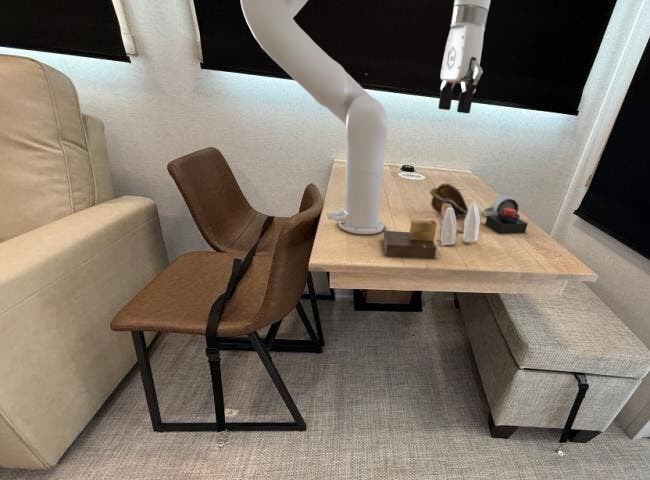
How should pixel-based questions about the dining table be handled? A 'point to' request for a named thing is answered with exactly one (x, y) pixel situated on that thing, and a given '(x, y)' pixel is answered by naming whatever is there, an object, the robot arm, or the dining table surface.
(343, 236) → the dining table surface
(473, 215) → the shaker set
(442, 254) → the dining table surface
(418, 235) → the lock knob
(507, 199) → the ceramic mug
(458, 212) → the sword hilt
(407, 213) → the dining table surface
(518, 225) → the bell block
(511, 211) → the bell button
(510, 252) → the dining table surface
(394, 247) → the plate
